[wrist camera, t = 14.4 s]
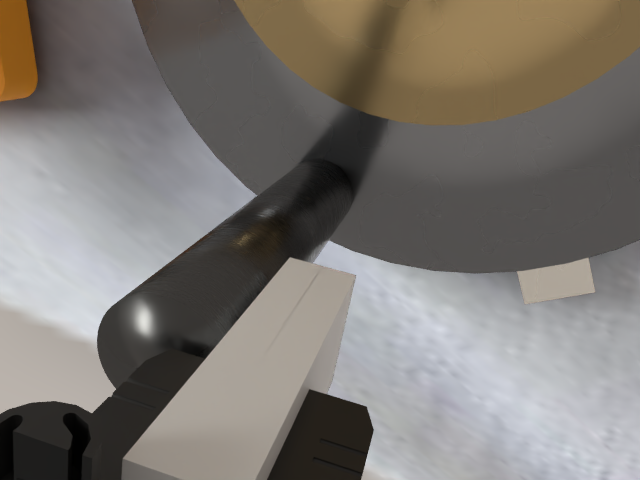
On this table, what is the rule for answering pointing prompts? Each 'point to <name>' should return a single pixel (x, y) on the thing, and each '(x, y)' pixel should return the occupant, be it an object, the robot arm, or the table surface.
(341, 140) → the turntable
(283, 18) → the cover
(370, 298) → the table surface
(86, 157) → the table surface
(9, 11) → the bracket
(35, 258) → the table surface
